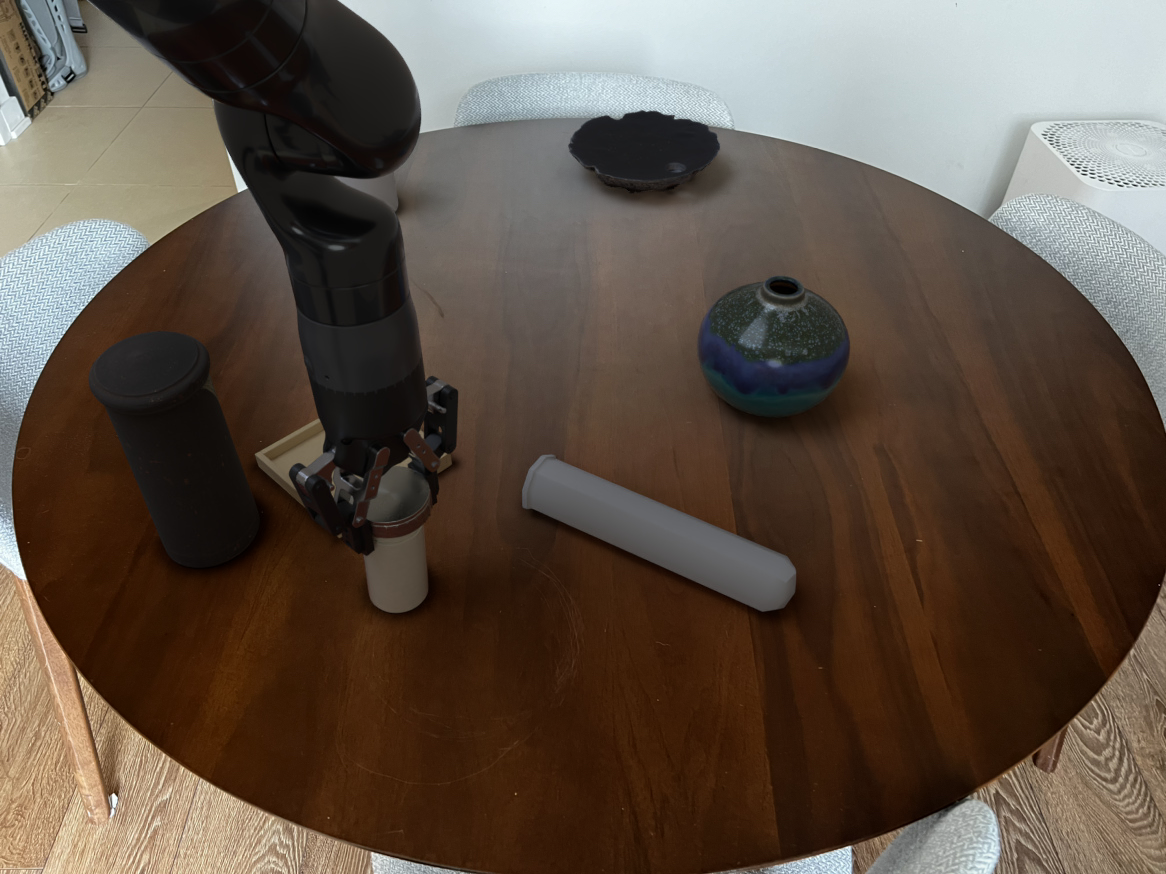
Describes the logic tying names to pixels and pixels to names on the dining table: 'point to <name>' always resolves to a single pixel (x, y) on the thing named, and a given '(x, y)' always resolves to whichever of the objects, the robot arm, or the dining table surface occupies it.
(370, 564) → the jar
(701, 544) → the tube
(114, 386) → the container
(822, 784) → the dining table surface
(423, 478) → the lid
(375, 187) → the mug
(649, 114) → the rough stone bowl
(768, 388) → the vase
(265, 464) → the tray
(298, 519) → the dining table surface
